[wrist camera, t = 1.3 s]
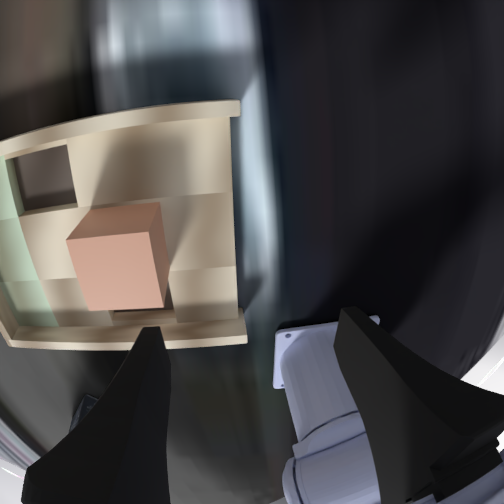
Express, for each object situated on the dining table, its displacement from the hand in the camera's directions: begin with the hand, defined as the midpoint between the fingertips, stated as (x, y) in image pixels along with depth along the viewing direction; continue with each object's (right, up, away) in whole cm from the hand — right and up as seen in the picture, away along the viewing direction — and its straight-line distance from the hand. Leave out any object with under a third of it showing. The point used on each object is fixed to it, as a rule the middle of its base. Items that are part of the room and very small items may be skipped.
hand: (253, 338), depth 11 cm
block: (-8, +4, +7) cm, 11 cm away
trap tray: (-11, +4, +8) cm, 14 cm away
